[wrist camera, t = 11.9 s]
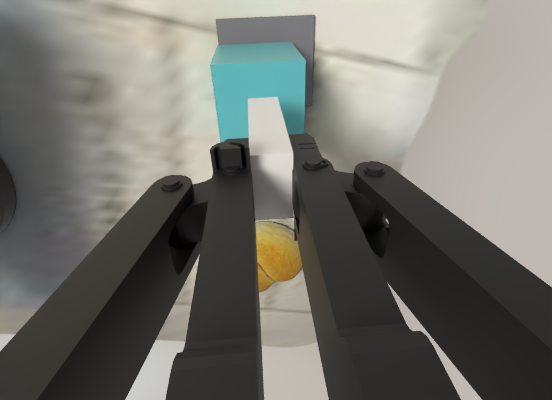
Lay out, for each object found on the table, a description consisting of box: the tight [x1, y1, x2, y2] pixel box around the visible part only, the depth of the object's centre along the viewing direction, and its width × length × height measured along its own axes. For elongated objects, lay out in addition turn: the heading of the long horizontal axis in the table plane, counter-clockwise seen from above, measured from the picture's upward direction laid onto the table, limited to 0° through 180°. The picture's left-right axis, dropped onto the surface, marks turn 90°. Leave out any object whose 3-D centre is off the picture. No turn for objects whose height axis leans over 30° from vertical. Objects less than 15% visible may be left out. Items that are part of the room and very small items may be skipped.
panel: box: [216, 15, 315, 106], centre depth 25 cm, size 7×6×1 cm
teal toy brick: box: [210, 42, 306, 142], centre depth 22 cm, size 5×5×7 cm
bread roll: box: [255, 221, 302, 292], centre depth 34 cm, size 8×9×4 cm
